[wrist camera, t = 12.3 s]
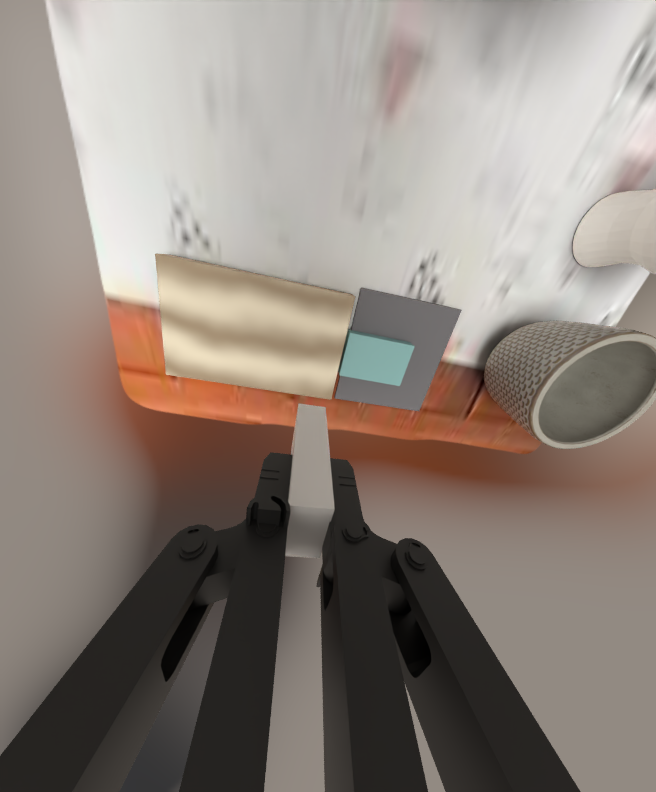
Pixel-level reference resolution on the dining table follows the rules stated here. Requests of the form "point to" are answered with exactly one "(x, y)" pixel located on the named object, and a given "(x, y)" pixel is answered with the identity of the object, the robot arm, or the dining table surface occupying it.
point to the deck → (250, 328)
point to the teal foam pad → (374, 358)
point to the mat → (406, 323)
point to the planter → (573, 380)
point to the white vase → (619, 231)
